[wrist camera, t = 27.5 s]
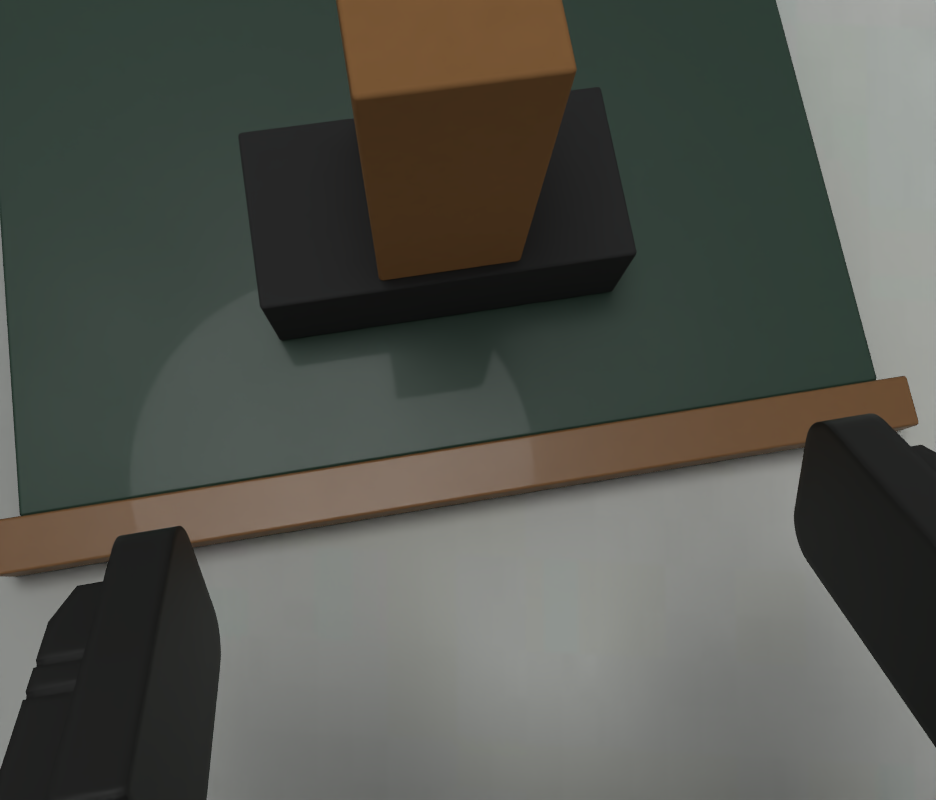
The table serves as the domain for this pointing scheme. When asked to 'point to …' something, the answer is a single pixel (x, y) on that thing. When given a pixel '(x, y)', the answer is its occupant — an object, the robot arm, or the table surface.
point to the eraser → (439, 174)
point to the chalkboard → (402, 344)
